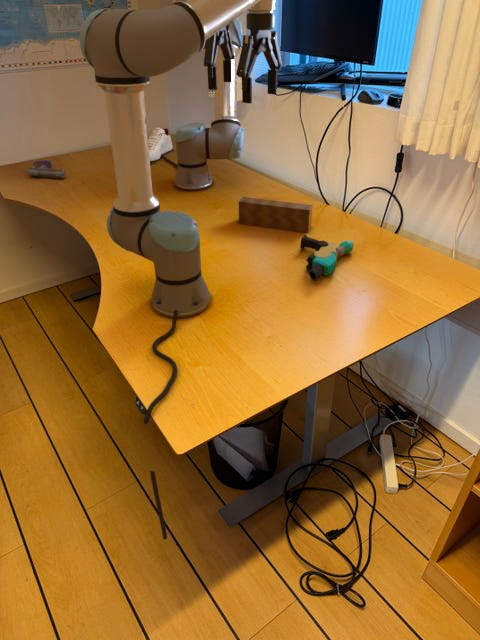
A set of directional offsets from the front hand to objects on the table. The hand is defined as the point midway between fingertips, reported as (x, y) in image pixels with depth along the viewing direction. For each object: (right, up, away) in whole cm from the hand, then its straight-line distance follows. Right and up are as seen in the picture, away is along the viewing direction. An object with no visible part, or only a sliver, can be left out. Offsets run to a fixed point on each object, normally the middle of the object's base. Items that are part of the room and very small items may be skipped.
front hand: (259, 98), depth 139 cm
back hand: (-12, +12, +16) cm, 23 cm away
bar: (+6, -32, +24) cm, 41 cm away
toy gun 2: (+17, -48, +3) cm, 51 cm away
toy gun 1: (-89, -1, +70) cm, 113 cm away
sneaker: (-47, +13, +88) cm, 101 cm away
